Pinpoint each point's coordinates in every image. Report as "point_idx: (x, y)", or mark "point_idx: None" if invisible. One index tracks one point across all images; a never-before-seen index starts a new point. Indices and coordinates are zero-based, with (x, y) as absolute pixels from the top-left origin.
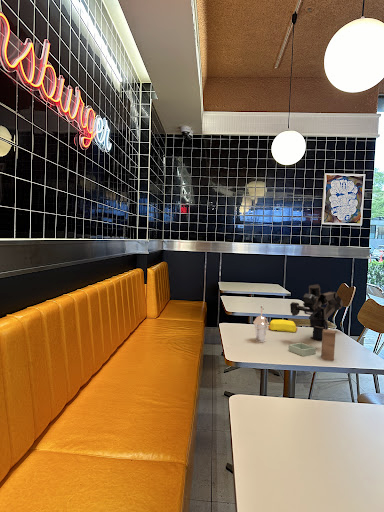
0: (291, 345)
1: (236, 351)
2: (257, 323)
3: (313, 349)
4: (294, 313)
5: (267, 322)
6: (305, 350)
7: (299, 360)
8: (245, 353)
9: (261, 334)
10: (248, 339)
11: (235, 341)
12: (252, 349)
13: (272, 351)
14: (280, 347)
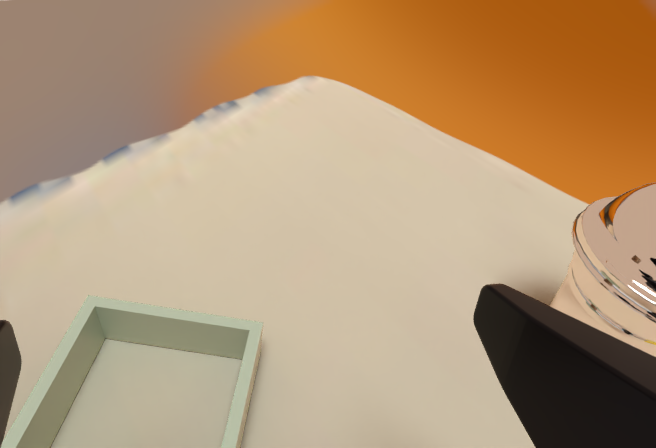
0: (235, 323)
1: (405, 138)
2: (611, 199)
3: (9, 441)
4: (541, 372)
5: (629, 269)
6: (76, 322)
7: (90, 239)
8: (363, 143)
9: (552, 300)
10: None
11: (569, 232)
12: (401, 199)
13: (316, 250)
14: (355, 369)
